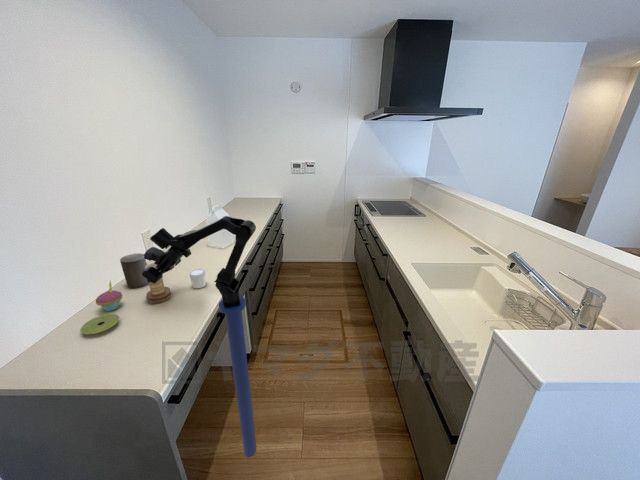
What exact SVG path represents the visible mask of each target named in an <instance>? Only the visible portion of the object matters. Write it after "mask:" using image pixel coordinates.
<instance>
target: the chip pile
mask: <svg viewBox="0 0 640 480" xmlns="http://www.w3.org/2000/svg"><path fill="white" fill-rule="evenodd" d="M164 287H165V292H164V293H162V294H160V295H152V294H151V290H150V289H149V290H148V292H146V295H145V299H146V301H147V303H148V304H150V305H158V304H161V303H164V302H167V301H168V300H169V299H171V297H172V294H173V293H172V291H171V288H170V287H169V286H164Z"/></svg>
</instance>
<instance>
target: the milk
mask: <svg viewBox="0 0 640 480" xmlns="http://www.w3.org/2000/svg"><path fill="white" fill-rule="evenodd" d="M224 216H229V217H231V216H230V214H229V213H228V212H227V211H226V210H225V209H223V207H222V205H221V204H217V205H214V206H212V209H211V212H210V213H209V214H208V215H207V216H206V218H205V226H207V225H209V224H211V223H213V222H215V221H217V220H220V219H221V218H223V217H224ZM206 238H207V245H208V247H211V248H217V249H222V250H223V249H226V248H227V247H229V246H230V245H232V244H235V242H236V240H235V236H234V234H232V233H230V232H229V231H227V230H225V229H222V230H220V231H218V232H216V233H214V234H212V235H210V236H207V237H206Z"/></svg>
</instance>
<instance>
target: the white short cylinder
mask: <svg viewBox="0 0 640 480" xmlns="http://www.w3.org/2000/svg"><path fill="white" fill-rule="evenodd" d="M188 275H189V279H190V282H191V285H192V287H193V289H201V288H204V287H205V286H206V285H207V282H206V270H205V269H202V268H197V269H193V270H191V271H189V273H188Z"/></svg>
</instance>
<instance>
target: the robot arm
mask: <svg viewBox="0 0 640 480" xmlns="http://www.w3.org/2000/svg"><path fill="white" fill-rule="evenodd" d="M222 229H225V230H227V231H229V232H230V233H232V234H233V235H235V236H234V239H235V242H234V245H233V247H232V250H231V253H230V256H229V258H228V260H227V262H226V265H225V267H222V268H221V270H219V272H218V273H217V275H216V279H215V280H214V283H215V285H214V286H215V288H216V289H217V290H218V291H219V293H220V295H221V300H223V305H224V308H229V307H235V306H240V297H239V296H240V291H239V287H240V284H241V281H239V280H238V279H237V278H236V269H237V266H238V264H239V263H240V261H241V257H242V254H243V253H244V250H245V247H246V246H247V243H249V240H250V239H251V238H252V236H253V234H254V233H255V232H256V230H257V225H256V223H254V221H252V220H250V219H249V220H246V219H242V218H236V217H232V216H230V217H229V216H224V217H223V218H221V219H220V220H217V221H215V222H213V223H211V224H209V225H207V226H206V225H205V226H203V227H201V228H199V229H192V230H189V231H186V232H184V233H181V234H176V235H175V236H174V235H172V234H171V233H170V232H169V231H168V230H166V228H164V227H162V228H160V229H159V230H158V231H156V232H155V233H154V234H153V235H151V237H150V239H149V240H150V241H151V243H154V244H155V245H156V246H157V247H156V246H152V247H151V246H150V248H148V249H146V251H145V252H144V253H143V254H144V258H145V259H146V261H149V262H151V261H152V262H153V263H154V264H156V265H157V266H156V268H158V269H157V270H156V269H155V268H154V267H148V268H147V269H146V270H144V271H143V272H142V276H144V277H145V278H146V279H147V282H148V283H150V282H152V283H153V284H155V283H156V282H158V281H159V280H160V279H161V278H162V279H163V277H164V276H163V275H164V274H165V273H168V272H170V271H172V270H173V269H174V268H175V267H177V266H178V265H179V264H180V263H181V262H182V257H184V258H185V259H187V258H189V257H190V256H191V255H192V251H191V248H192V247H193V246H195V245H196V244H197V243H198V242H199V241H201V240H203V239H206V238H208V237H207V236H210V235H212V234H214V233H216V232H218V231H220V230H222ZM158 247H159V248H158ZM164 249H166V251H163V250H164ZM160 270H161V271H160ZM159 271H160V272H159Z"/></svg>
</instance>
